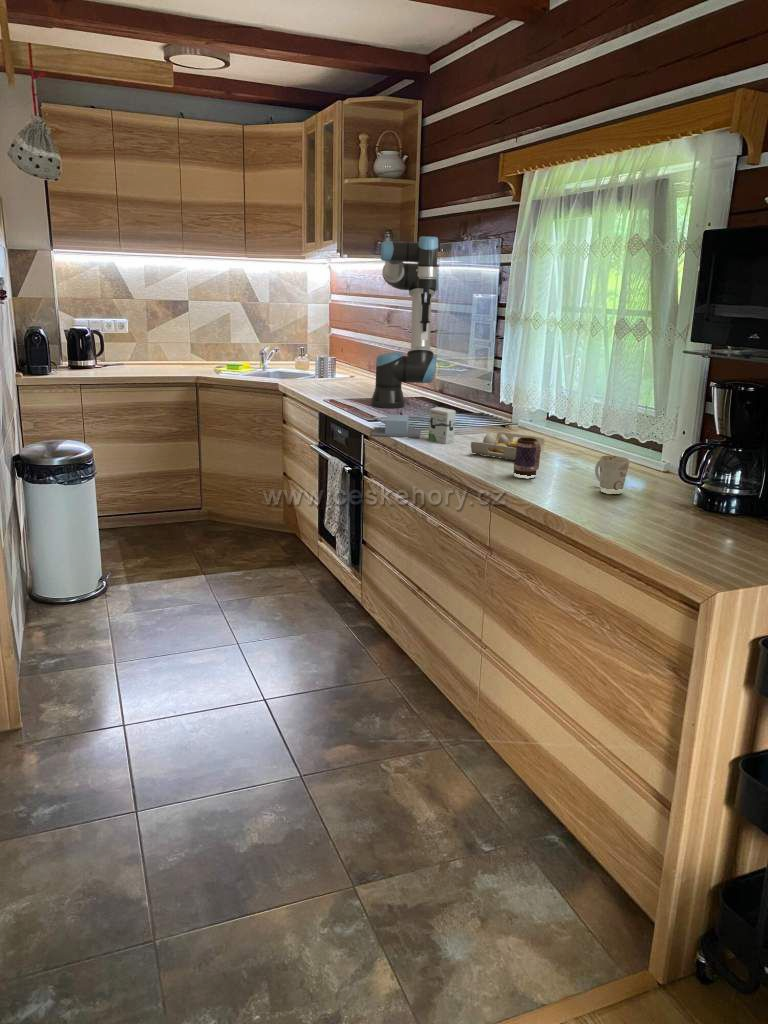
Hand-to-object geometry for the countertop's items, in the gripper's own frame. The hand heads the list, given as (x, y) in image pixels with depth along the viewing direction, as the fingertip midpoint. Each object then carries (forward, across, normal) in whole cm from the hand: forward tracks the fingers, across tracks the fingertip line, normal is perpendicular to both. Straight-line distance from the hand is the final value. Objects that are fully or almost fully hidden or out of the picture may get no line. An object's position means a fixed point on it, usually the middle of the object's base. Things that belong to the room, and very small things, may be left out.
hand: (424, 339), depth 316 cm
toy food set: (+33, +52, +32) cm, 70 cm away
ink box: (+33, +40, +9) cm, 52 cm away
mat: (+32, +30, -8) cm, 45 cm away
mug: (+33, +96, +58) cm, 117 cm away
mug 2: (+33, +86, +36) cm, 99 cm away
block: (+29, +21, -8) cm, 37 cm away
